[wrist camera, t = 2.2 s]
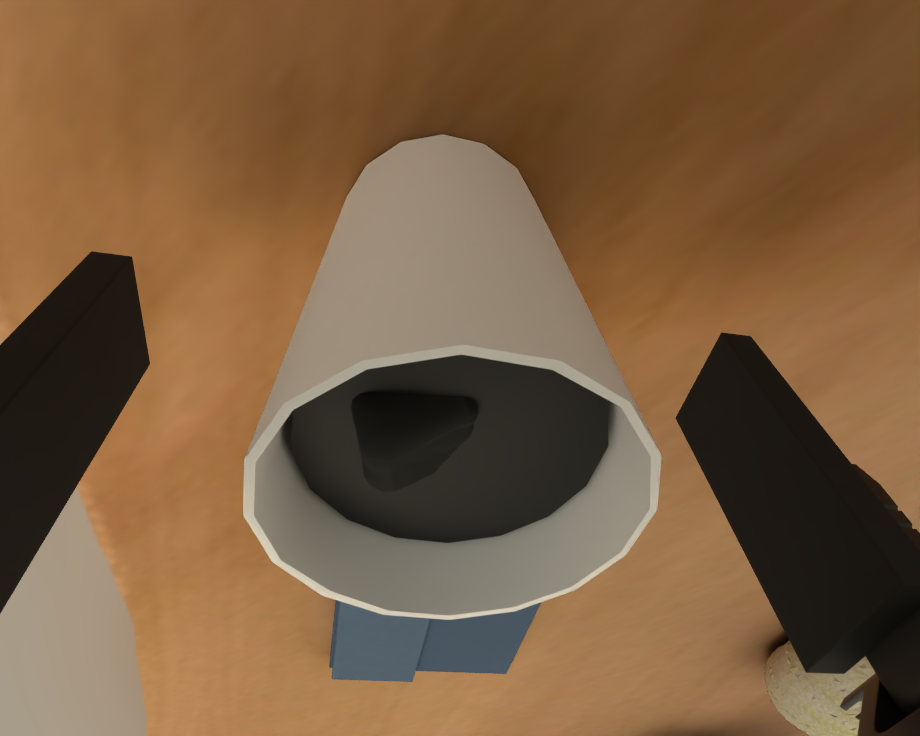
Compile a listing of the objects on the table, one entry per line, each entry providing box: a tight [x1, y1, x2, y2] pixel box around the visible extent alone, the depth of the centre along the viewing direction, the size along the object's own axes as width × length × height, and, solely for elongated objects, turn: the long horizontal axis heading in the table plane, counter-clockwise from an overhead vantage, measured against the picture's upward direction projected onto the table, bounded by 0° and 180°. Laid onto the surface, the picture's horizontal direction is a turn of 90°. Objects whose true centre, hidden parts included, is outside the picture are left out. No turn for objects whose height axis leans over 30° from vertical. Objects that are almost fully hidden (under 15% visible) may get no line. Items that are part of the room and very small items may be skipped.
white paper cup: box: [243, 134, 662, 620], centre depth 13 cm, size 7×7×10 cm
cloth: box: [329, 600, 541, 682], centre depth 27 cm, size 20×10×1 cm, turn 170°
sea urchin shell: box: [764, 640, 875, 736], centre depth 33 cm, size 9×8×8 cm
